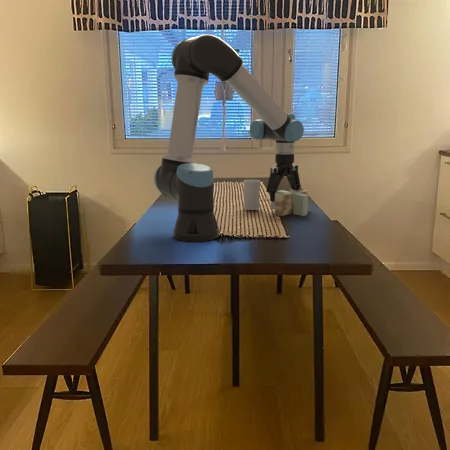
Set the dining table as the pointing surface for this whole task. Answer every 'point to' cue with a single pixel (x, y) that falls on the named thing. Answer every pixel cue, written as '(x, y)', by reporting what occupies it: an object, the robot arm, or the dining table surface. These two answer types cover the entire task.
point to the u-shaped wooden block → (285, 203)
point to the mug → (251, 194)
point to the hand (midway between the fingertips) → (283, 207)
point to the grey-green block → (298, 202)
